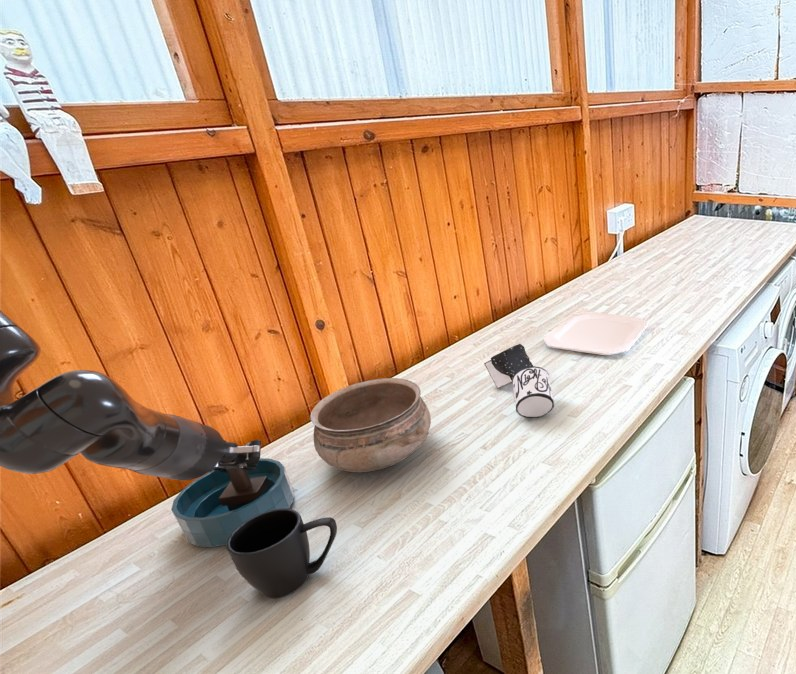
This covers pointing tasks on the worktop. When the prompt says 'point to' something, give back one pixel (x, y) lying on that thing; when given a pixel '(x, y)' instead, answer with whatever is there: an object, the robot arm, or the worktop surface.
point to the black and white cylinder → (522, 381)
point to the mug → (276, 550)
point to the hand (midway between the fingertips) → (243, 464)
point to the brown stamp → (242, 489)
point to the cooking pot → (370, 424)
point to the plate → (596, 333)
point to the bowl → (215, 522)
